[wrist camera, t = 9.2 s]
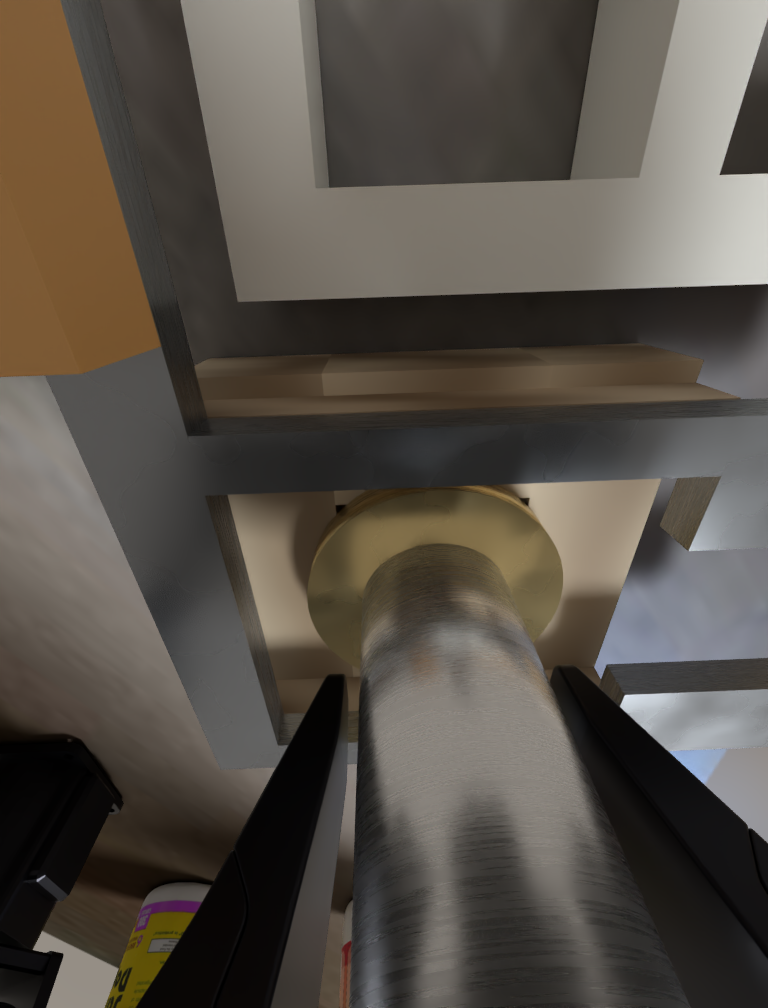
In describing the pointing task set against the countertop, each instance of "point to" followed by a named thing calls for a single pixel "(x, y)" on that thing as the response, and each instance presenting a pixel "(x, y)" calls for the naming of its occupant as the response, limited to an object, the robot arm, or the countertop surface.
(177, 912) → the supplement bottle
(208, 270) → the countertop surface
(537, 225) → the white hollow block
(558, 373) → the socket block
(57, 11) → the key plate
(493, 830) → the flanged silver cylinder
